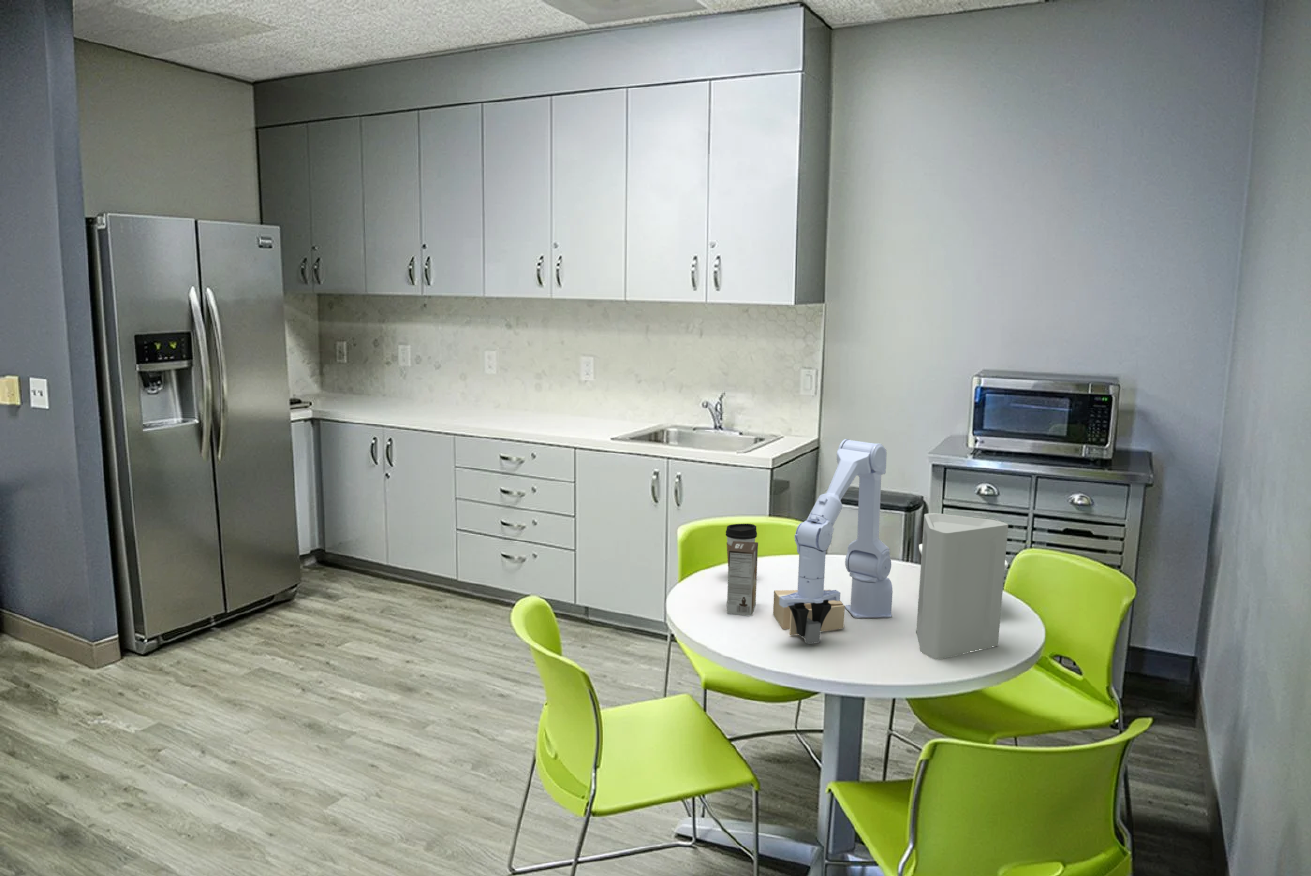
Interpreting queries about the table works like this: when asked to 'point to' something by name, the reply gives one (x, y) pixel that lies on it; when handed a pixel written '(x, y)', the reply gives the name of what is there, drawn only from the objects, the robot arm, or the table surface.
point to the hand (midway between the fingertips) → (808, 633)
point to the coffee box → (742, 578)
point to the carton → (784, 613)
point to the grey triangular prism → (960, 584)
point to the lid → (814, 628)
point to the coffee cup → (740, 534)
